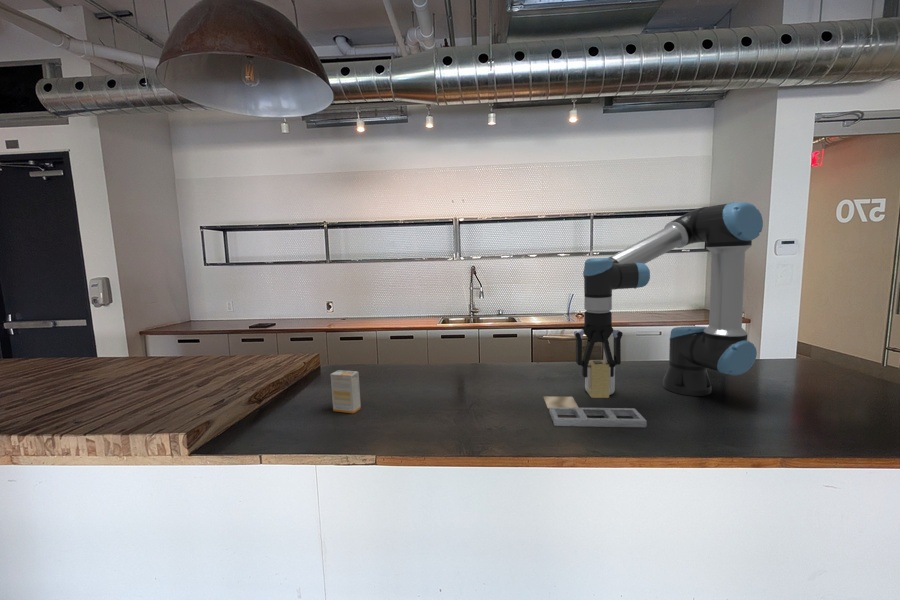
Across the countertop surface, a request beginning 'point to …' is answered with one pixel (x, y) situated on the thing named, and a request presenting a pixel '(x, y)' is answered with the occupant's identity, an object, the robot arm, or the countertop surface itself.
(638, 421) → the grey slotted tray
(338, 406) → the supplement box
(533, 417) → the countertop surface
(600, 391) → the tall beige post
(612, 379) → the cup
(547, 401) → the coaster
